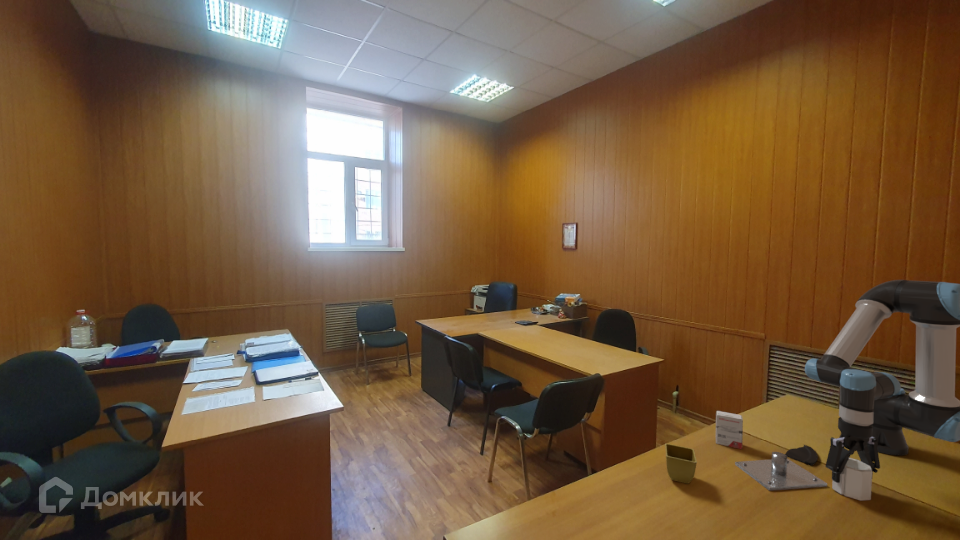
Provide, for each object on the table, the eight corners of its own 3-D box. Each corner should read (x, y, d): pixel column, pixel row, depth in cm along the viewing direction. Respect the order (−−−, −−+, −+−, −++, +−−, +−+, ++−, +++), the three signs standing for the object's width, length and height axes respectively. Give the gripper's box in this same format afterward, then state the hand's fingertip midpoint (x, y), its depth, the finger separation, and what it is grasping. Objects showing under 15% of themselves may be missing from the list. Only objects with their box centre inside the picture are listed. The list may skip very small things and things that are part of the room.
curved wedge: (826, 456, 136) (826, 452, 136) (811, 468, 129) (812, 463, 129) (798, 445, 143) (798, 441, 143) (782, 456, 136) (783, 452, 136)
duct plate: (787, 461, 132) (787, 442, 132) (826, 486, 118) (828, 465, 118) (735, 464, 131) (735, 445, 130) (769, 490, 117) (770, 469, 116)
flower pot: (693, 474, 126) (694, 448, 125) (696, 489, 118) (696, 462, 117) (664, 467, 129) (665, 443, 129) (665, 482, 121) (666, 456, 121)
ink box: (741, 443, 144) (742, 414, 143) (742, 449, 140) (743, 419, 139) (715, 438, 149) (716, 409, 148) (715, 443, 144) (716, 414, 144)
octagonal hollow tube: (849, 482, 120) (850, 455, 120) (877, 499, 112) (879, 470, 112) (826, 484, 119) (827, 457, 119) (853, 501, 111) (855, 472, 111)
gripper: (872, 413, 119) (868, 480, 120) (811, 416, 117) (808, 484, 119) (901, 424, 111) (896, 495, 113) (836, 428, 110) (832, 500, 111)
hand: (851, 490), depth 116 cm, fingers open, 9 cm apart
